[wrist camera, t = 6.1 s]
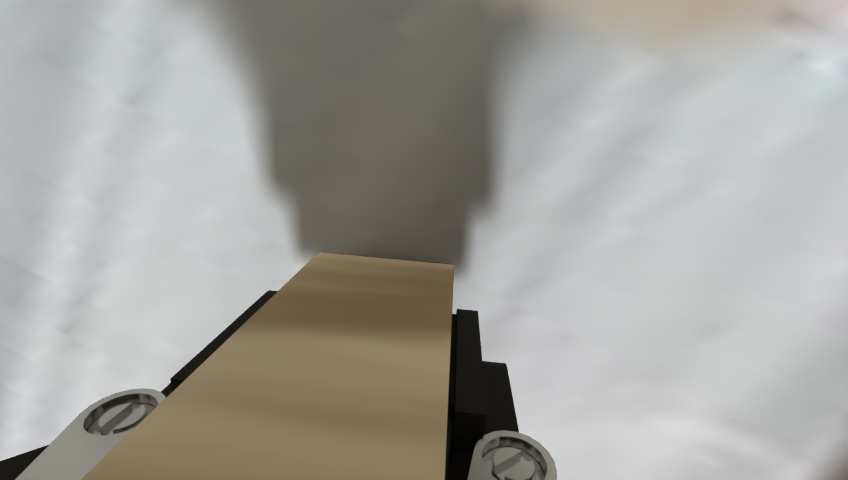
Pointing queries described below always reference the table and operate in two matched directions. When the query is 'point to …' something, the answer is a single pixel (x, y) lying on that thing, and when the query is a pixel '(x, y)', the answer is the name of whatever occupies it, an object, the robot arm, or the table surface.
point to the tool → (313, 385)
